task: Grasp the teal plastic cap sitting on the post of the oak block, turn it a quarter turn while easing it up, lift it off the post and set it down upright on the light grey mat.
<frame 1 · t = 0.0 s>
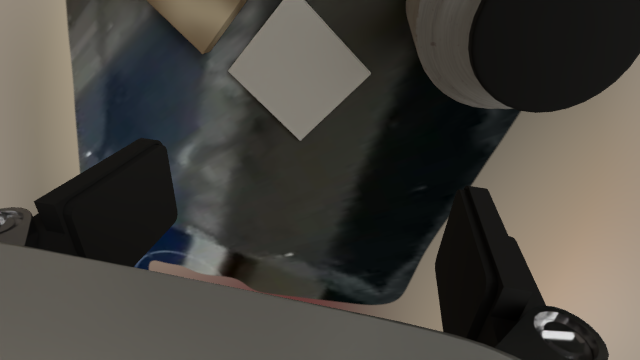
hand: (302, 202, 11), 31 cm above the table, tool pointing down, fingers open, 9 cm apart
grey mat: (297, 71, 41), on the table
thermos bottle: (446, 1, 35), on the table
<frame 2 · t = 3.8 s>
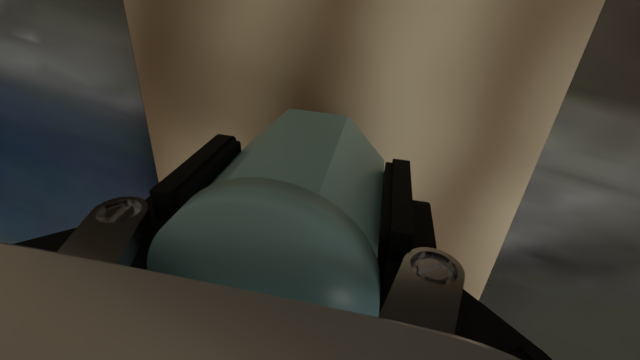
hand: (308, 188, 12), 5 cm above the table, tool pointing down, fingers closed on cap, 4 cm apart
post block: (332, 134, 16), on the table
cap: (314, 175, 13), point 4 cm above the table, touching gripper, post block
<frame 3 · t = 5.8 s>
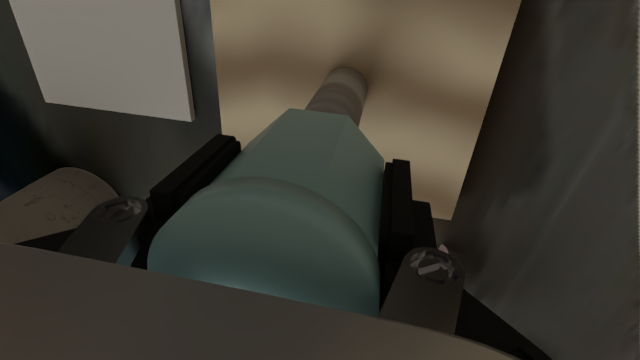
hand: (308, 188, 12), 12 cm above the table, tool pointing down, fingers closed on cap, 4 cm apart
grey mat: (100, 22, 23), on the table
post block: (349, 80, 22), on the table
cap: (314, 174, 13), point 11 cm above the table, touching gripper
thermos bottle: (90, 203, 32), on the table
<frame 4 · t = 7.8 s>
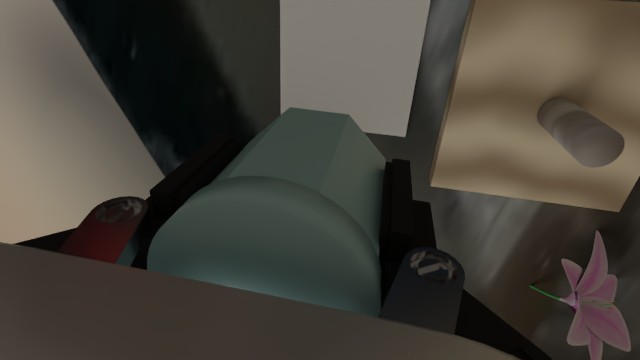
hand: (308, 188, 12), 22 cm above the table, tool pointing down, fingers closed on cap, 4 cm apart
grey mat: (347, 63, 31), on the table
lily: (570, 269, 37), on the table
post block: (546, 106, 29), on the table
cap: (315, 174, 13), point 21 cm above the table, touching gripper
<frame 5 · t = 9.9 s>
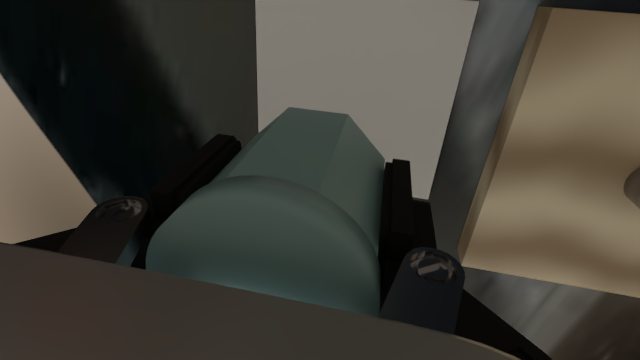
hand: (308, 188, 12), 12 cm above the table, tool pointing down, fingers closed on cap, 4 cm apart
grey mat: (351, 99, 22), on the table
post block: (631, 167, 21), on the table
cap: (314, 174, 13), point 11 cm above the table, touching gripper
when the fingers open (3 cm above the table, at t = 11.9 s): cap drops 1 cm, resting on grey mat.
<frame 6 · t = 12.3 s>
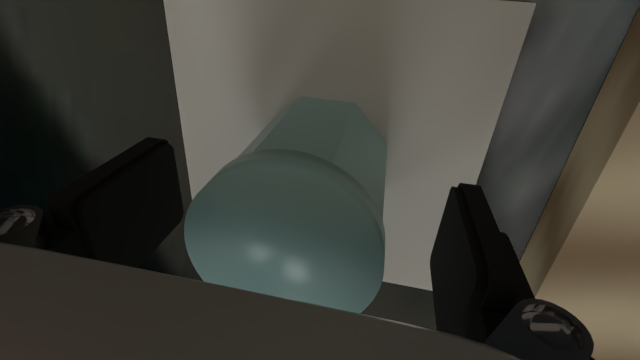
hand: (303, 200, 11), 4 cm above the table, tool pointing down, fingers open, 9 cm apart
grey mat: (324, 152, 14), on the table
cap: (323, 158, 14), point 1 cm above the table, touching grey mat
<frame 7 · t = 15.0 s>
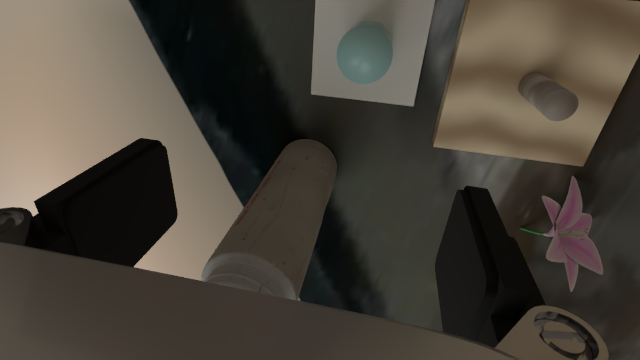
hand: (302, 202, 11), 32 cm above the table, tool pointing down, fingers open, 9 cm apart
grey mat: (368, 45, 38), on the table
lily: (552, 211, 44), on the table
post block: (526, 80, 37), on the table
cap: (368, 45, 37), point 1 cm above the table, touching grey mat
thermos bottle: (308, 165, 47), on the table
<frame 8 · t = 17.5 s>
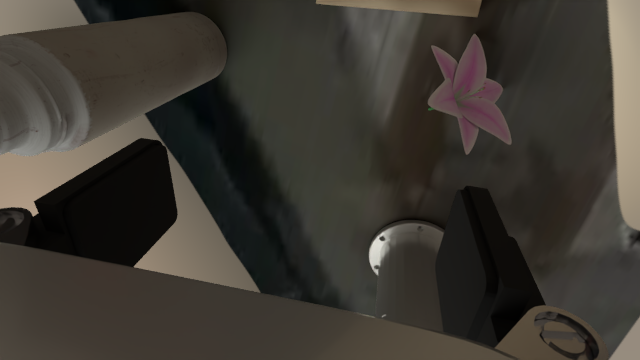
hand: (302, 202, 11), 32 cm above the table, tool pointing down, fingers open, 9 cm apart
lily: (461, 85, 39), on the table
thermos bottle: (197, 47, 43), on the table
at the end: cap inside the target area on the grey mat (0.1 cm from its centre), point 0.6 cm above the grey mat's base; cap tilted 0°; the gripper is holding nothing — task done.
